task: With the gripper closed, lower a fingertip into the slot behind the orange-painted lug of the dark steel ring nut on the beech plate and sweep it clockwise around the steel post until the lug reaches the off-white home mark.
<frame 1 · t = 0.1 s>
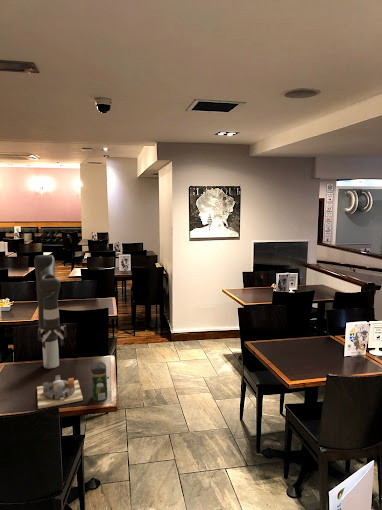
hand: (53, 346, 210), 29 cm above the table, fingers open, 8 cm apart
coffee jar: (100, 397, 215), on the table
base plate: (59, 394, 218), on the table
ring nut: (58, 386, 217), point 5 cm above the table, hinge at 0.0°
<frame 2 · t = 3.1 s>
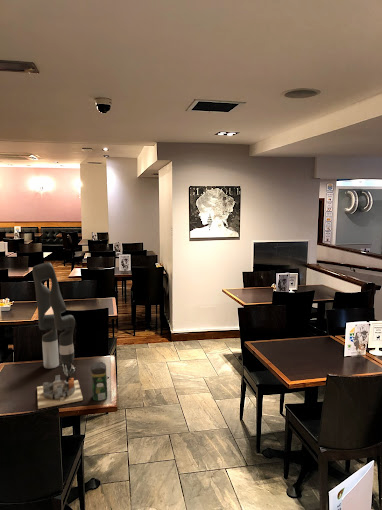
hand: (68, 381, 222), 5 cm above the table, fingers closed
ring nut: (58, 386, 217), point 5 cm above the table, hinge at 0.0°, touching gripper
everything else where it was.
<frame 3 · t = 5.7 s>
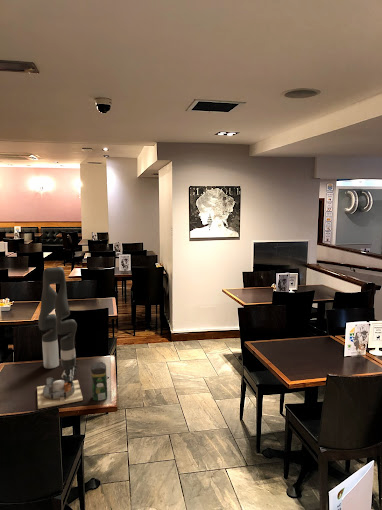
hand: (70, 386, 217), 5 cm above the table, fingers closed
ring nut: (58, 386, 217), point 5 cm above the table, hinge at 50.7°, touching gripper
everything else where it was.
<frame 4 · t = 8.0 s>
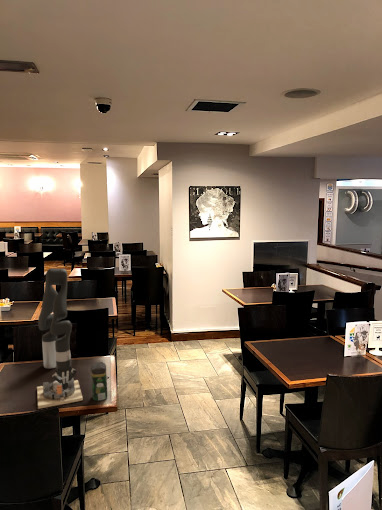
hand: (65, 388, 213), 6 cm above the table, fingers closed
ring nut: (58, 386, 217), point 5 cm above the table, hinge at 91.7°, touching gripper
everything else where it was.
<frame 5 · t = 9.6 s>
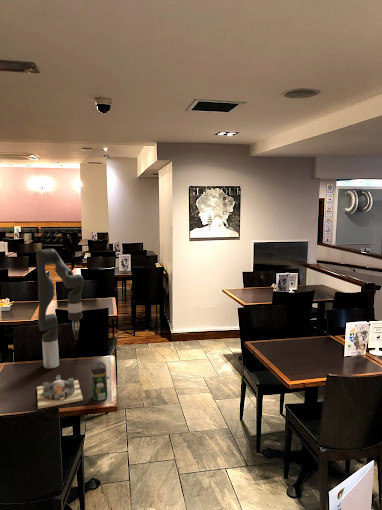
hand: (76, 339, 228), 26 cm above the table, fingers closed
ring nut: (58, 386, 217), point 5 cm above the table, hinge at 91.7°
everything else where it was.
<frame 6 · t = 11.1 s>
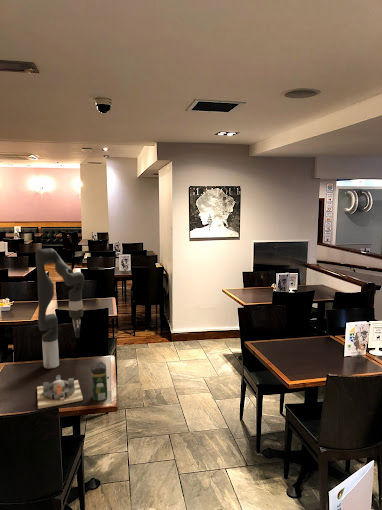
hand: (77, 337, 229), 27 cm above the table, fingers closed
nothing on the table moved.
at the end: ring nut at +92° (first picture: +0°) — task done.
